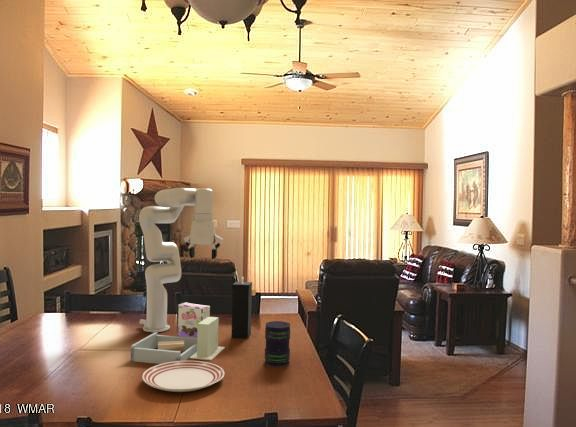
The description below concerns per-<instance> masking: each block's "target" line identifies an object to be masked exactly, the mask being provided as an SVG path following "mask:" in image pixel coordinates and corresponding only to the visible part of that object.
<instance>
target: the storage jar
mask: <svg viewBox="0 0 576 427" xmlns="http://www.w3.org/2000/svg"><path fill="white" fill-rule="evenodd" d="M264 334H265V335H264V337H265V348H264V364H265V365H266V366H269V367H271V368H272V367H273V368H281V367H282V368H283V367H286V366H288V365H290V357H291V353H290V352H291V349H290V339H291V323H289V322H287V321H282V320H281V321H280V320H279V321H278V320H273V321H268V322H265V330H264Z"/></svg>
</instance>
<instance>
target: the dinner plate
mask: <svg viewBox="0 0 576 427" xmlns="http://www.w3.org/2000/svg"><path fill="white" fill-rule="evenodd" d="M224 376H225V371H224V368H222V367H221V366H219V365H218V364H214V363H211V362H208V361H200V360H186V361H174V362H167V363H163V364H156V365H154V366H151V367H149V368H148V369H146V370H145V371H144V372H143V373H142V376H141V379H142V381H143V382H144V383H145V384H147V385H148V386H149V387H151V388H154V389H158V390H161V391H166V392H172V393H185V392H188V393H189V392H195V391H199V390H201V389H205V388H208V387H210V386H212V385H214V384H215V383H218V382H220V381H221V380H222V379H224Z"/></svg>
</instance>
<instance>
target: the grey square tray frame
mask: <svg viewBox="0 0 576 427" xmlns="http://www.w3.org/2000/svg"><path fill="white" fill-rule="evenodd" d="M158 333H159V332H152V333H151V334H149V335H147V336H146V337H144V338H142V339H140V340H139V341H137V342H135V343H132V344H131V345H130V362H137V363H148V364H156V365H159V364H163V363H167V362H174V361H188V359H191V358H190V357H191V356H192V355H193V354H195V353H196V352H197V338H190V337H178V335H177V336H176V335H165V334H164V335H163V334H158ZM168 341H184V351H170V350H158V342H168ZM156 348H157V349H156Z"/></svg>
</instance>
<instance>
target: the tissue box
mask: <svg viewBox="0 0 576 427" xmlns="http://www.w3.org/2000/svg"><path fill="white" fill-rule="evenodd" d="M244 278H245V277H244V276H241V281H235V282H233V283H232V285H231V286H232V287H231V288H232V291H231V292H232V296H231V297H232V298H231V299H232V300H231V301H232V302H231V338H234V339H235V338H236V339H249V337H250V335H251V334H252V298H253V295H252V294H253V293H252V291H253V289H252V288H253V282H252V281H245V280H244Z"/></svg>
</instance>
